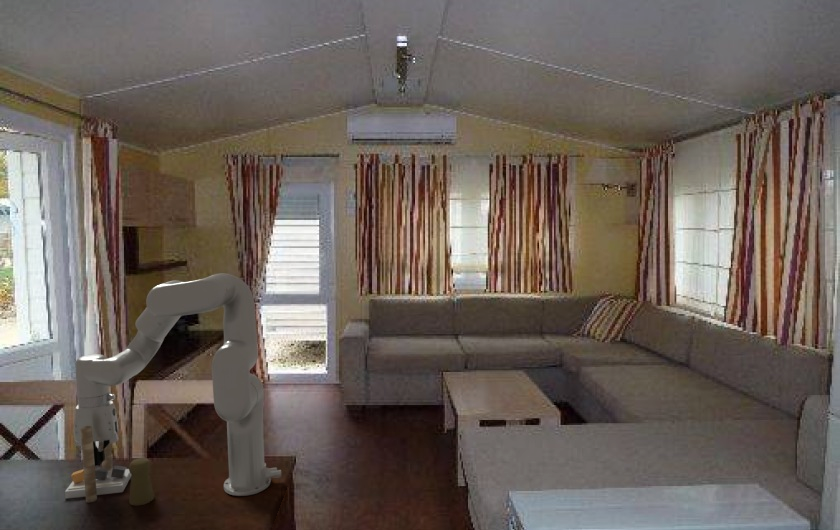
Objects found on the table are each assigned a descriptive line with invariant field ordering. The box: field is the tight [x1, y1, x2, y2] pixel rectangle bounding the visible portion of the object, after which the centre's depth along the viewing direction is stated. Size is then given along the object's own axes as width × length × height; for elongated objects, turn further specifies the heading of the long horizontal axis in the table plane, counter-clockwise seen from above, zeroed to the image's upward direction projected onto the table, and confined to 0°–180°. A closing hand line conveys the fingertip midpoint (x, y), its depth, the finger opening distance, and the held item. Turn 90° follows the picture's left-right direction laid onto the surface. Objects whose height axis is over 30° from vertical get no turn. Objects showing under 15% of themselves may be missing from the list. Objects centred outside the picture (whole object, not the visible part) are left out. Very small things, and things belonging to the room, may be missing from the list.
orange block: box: [70, 469, 84, 483], centre depth 157 cm, size 3×2×2 cm, turn 103°
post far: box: [101, 443, 114, 471], centre depth 165 cm, size 3×3×20 cm
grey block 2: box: [111, 465, 127, 478], centre depth 159 cm, size 3×2×2 cm, turn 105°
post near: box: [81, 426, 98, 504], centre depth 150 cm, size 3×3×20 cm
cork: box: [128, 457, 155, 506], centre depth 151 cm, size 6×6×11 cm
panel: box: [64, 468, 132, 499], centre depth 158 cm, size 14×10×2 cm
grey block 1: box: [95, 466, 109, 480], centre depth 158 cm, size 3×2×2 cm, turn 105°
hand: (98, 463), depth 158 cm, fingers closed
